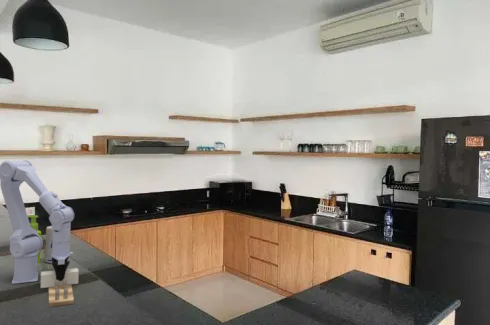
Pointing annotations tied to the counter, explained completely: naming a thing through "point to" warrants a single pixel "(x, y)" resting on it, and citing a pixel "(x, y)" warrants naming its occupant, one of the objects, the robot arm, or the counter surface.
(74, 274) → the white rectangular block
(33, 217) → the soap dispenser
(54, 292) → the peg stand
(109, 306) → the counter surface
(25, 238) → the robot arm
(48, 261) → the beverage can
